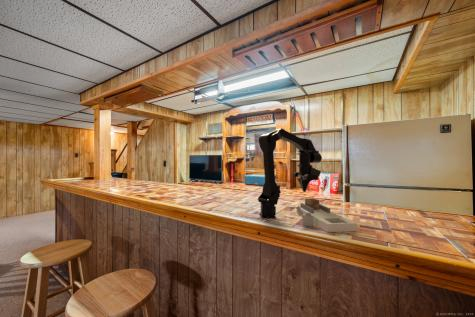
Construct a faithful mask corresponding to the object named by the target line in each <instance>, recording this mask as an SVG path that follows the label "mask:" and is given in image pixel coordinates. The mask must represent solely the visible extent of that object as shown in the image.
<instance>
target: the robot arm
mask: <svg viewBox="0 0 475 317" xmlns="http://www.w3.org/2000/svg"><path fill="white" fill-rule="evenodd" d="M279 140H283V141H285V142H288V143H289V144H291V145H293V146H294V147H295V148H296V149H297V150H298V151H297V152H296V153H295V155H297V156H299V157H298V164H297V167H298V171H293V173H292V178H296V180H297V181H298V183H299V185H300V188H301V190H302V192H303V193H306V192H307V189H308V185H309V183H311V182H312V181H319V177H320V175H321V173H322V171H321V170H319V169H316V168H315V167H313V164H319V163H321V161H322V160H323V157H322V154H321V153H320V152H319V150H316V147H315V146H314V143H313V141H312V140H311V139H308V138H305V137H304V138H303V137H299V136H297V135H295V134H293V133H291V132H290V131H287V130H286V129H285V128H277V129H275V130H273V131H271V132H268V133H266V134H262V135H260V136H259V138H258V144H259V148H260V150H261V152H262V155H263V168H264V170H263V172H264V183H263V186H262V192H261V194H260V195H259V196H258V198H257V201H258V202H259V203H260V213H259V215H260V217H261V218H263V219H269V218H272V219H275V218H276V217H277V216H276V214H277V211H276V210H277V208H276V205H278V201H279V199H280V196H281V194H282V193H281V184H277V181H276V174H275V173H276V172H275V157H274V152H275V149H276V147H277V142H278V141H279Z"/></svg>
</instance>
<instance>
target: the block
mask: <svg viewBox="0 0 475 317" xmlns="http://www.w3.org/2000/svg"><path fill="white" fill-rule="evenodd" d="M304 204H305V205H307V206H309V207H311V208H313V209H314V210H319V204H320V200H319V199H317V198H305V199H304Z"/></svg>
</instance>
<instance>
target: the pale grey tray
mask: <svg viewBox="0 0 475 317" xmlns="http://www.w3.org/2000/svg"><path fill="white" fill-rule="evenodd" d="M299 204H300V205H299V207H300V209H301V211H302V213H303V214H306V212H307V213H311V215H313V225H316V226H317V227H319V228H320V229H322V230H323V231H324V232H326V233H337V232H338V233H340V232H341V233H342V232H356V231H357V223H356V222H355V221H352V220H350V219H348V218H346V217H343V216H341V215H339V214H337V213H334V212H332V211H331V208H330V207H327V206H326V205H323V204H320V203H319V210H314V209H313V208H311V207H309V206H307V205H305V203H299ZM296 213H297V214H298V211H297V210H296ZM300 217H303V215H301V216H300Z"/></svg>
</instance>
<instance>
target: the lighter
mask: <svg viewBox="0 0 475 317" xmlns="http://www.w3.org/2000/svg"><path fill="white" fill-rule="evenodd" d="M295 210H296V212H297V211H298V213H297V214H298V216H299V217H302V226H303V227H304V226H306V227H314V223H313V215H311V213H307V212H306V214H303V213H302V211H301V209H300V205H298V204H297V205H296V206H295ZM301 215H303V216H301Z"/></svg>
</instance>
